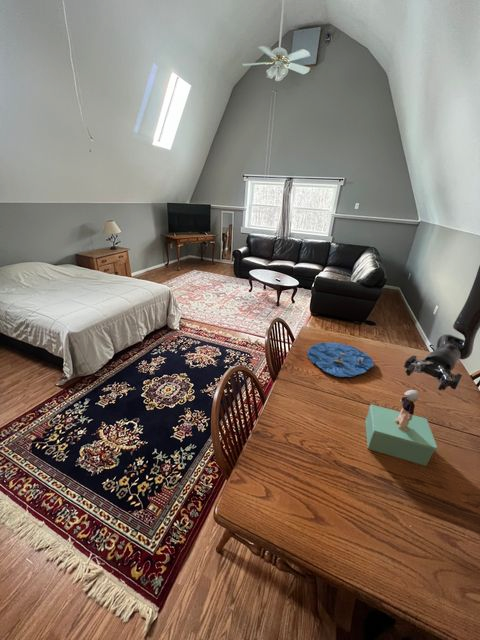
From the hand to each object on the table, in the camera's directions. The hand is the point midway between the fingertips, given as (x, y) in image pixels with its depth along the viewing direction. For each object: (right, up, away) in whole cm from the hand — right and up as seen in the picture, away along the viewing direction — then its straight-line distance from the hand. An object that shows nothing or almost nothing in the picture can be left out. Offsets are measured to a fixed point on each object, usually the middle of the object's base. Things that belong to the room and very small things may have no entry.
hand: (424, 380), depth 80 cm
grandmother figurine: (-6, -14, +1) cm, 15 cm away
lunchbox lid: (-6, -14, +1) cm, 16 cm away
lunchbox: (-7, -20, +4) cm, 22 cm away
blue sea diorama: (-9, -1, +45) cm, 46 cm away
